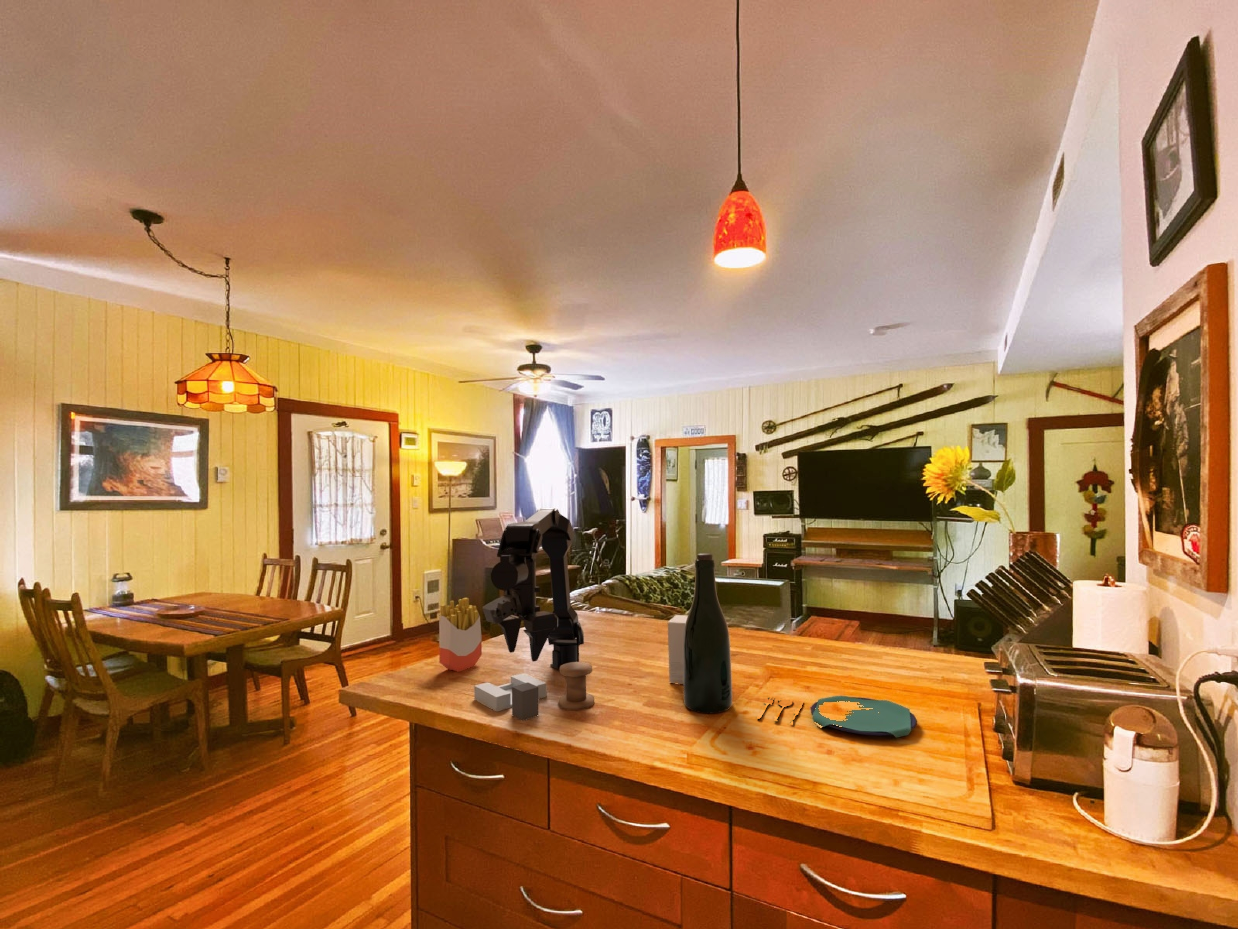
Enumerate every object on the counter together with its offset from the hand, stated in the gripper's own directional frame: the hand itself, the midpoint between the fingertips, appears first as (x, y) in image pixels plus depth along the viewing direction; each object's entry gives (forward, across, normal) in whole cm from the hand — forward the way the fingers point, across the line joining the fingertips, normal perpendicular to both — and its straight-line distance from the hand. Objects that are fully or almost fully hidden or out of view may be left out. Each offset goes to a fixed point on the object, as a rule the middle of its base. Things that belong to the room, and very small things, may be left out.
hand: (522, 656), depth 123 cm
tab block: (+12, 0, 0) cm, 12 cm away
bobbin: (+12, +2, +12) cm, 17 cm away
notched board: (+12, -11, +3) cm, 17 cm away
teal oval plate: (+13, +45, +47) cm, 66 cm away
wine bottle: (+12, +23, +32) cm, 42 cm away
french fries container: (+12, -40, +5) cm, 42 cm away
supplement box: (+12, +9, +42) cm, 45 cm away
